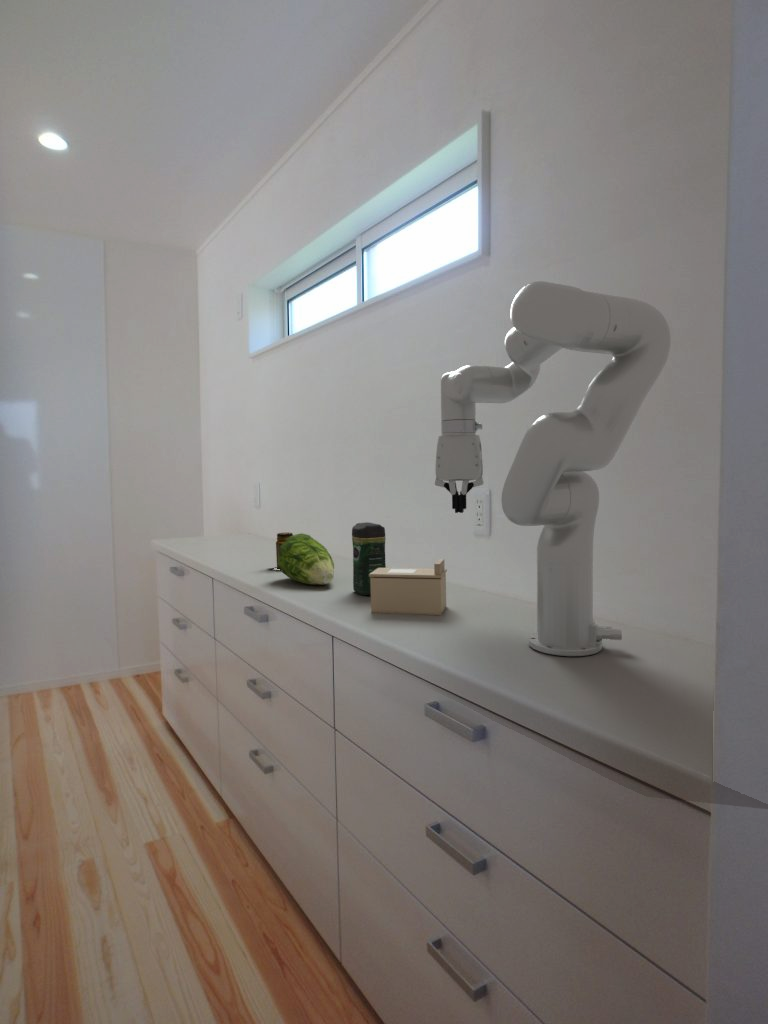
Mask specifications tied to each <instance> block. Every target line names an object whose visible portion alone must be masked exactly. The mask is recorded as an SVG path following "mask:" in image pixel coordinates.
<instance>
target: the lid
mask: <svg viewBox="0 0 768 1024" xmlns="http://www.w3.org/2000/svg"><path fill="white" fill-rule="evenodd" d="M433 566H434V567H433V568H421V567H420V568H419V567H418V568H417V567H416V568H415V567H414V568H413V567H410V568H409V567H408V568H407V567H386V568H377V569H376V570H374V571H373V572H371V573H370V574H369V577H407V578H442V577H443V575H444V574H445V573H447V572H448V571H447V570H448V569H447V568H445V558H439V559H437V560H436V561H435V562H434V565H433Z"/></svg>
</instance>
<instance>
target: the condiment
mask: <svg viewBox="0 0 768 1024" xmlns="http://www.w3.org/2000/svg"><path fill="white" fill-rule="evenodd" d="M293 535H294V534H293V532H278V533H277V534H276V542H275V550H276V551H275V553H276V554H275V556H276V567H269V568H267V570H269V569H274V568H277V569H280V570H281V568H280V566H279V564H278V552H279V550H280V547H281V545H282V544H283V543H284V542H285V540H286V539H288V538H289V537H291V536H293ZM274 572H277V571H276V570H275V571H274Z"/></svg>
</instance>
